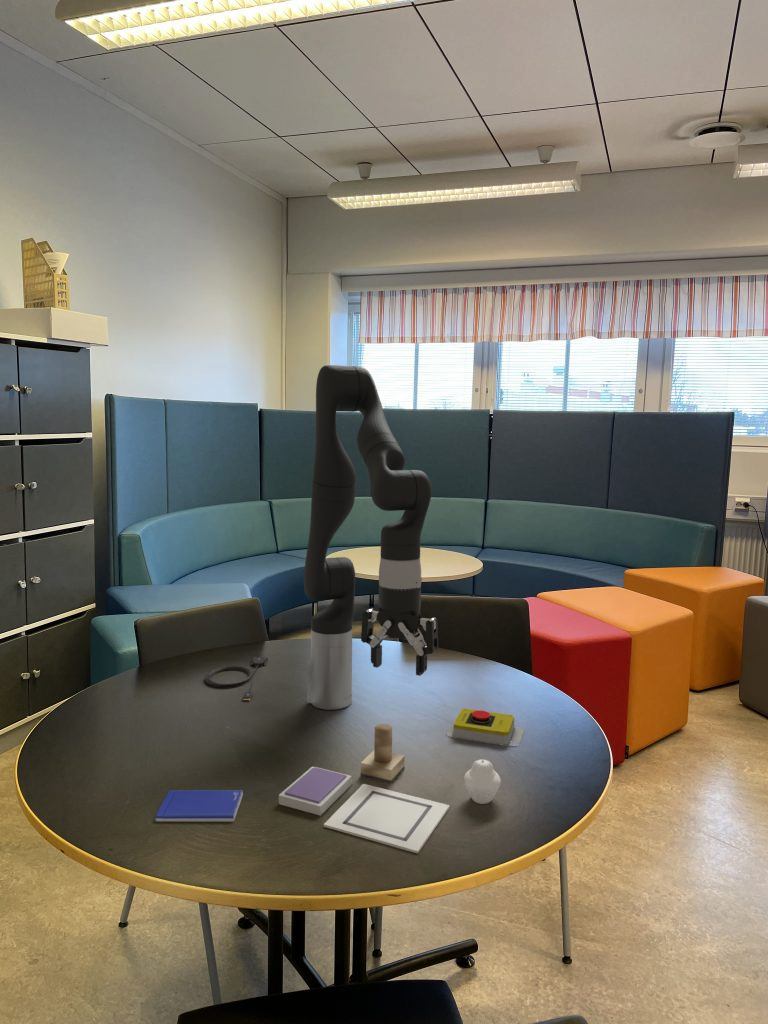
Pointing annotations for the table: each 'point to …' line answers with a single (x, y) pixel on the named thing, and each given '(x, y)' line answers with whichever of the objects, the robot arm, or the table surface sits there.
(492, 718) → the emergency button
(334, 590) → the robot arm
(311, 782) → the ink pad
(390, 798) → the sheet
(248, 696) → the cable
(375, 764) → the stamp
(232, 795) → the blue book
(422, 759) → the table surface
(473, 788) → the white rounded piece
